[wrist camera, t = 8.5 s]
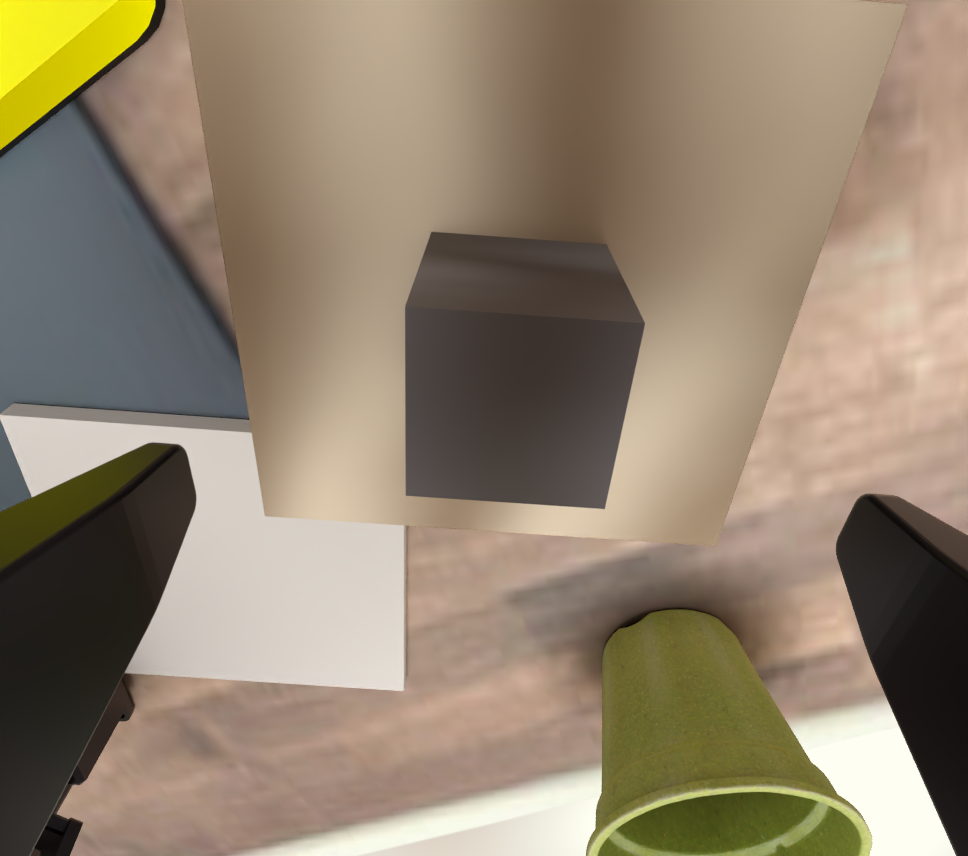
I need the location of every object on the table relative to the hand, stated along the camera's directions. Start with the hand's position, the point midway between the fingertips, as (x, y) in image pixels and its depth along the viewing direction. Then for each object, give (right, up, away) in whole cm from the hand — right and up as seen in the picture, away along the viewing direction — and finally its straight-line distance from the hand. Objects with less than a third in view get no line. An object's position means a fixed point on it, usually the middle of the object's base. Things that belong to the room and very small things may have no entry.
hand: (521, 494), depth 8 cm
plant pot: (+8, -9, +20) cm, 24 cm away
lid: (0, +4, +6) cm, 7 cm away
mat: (-11, -5, +18) cm, 21 cm away
